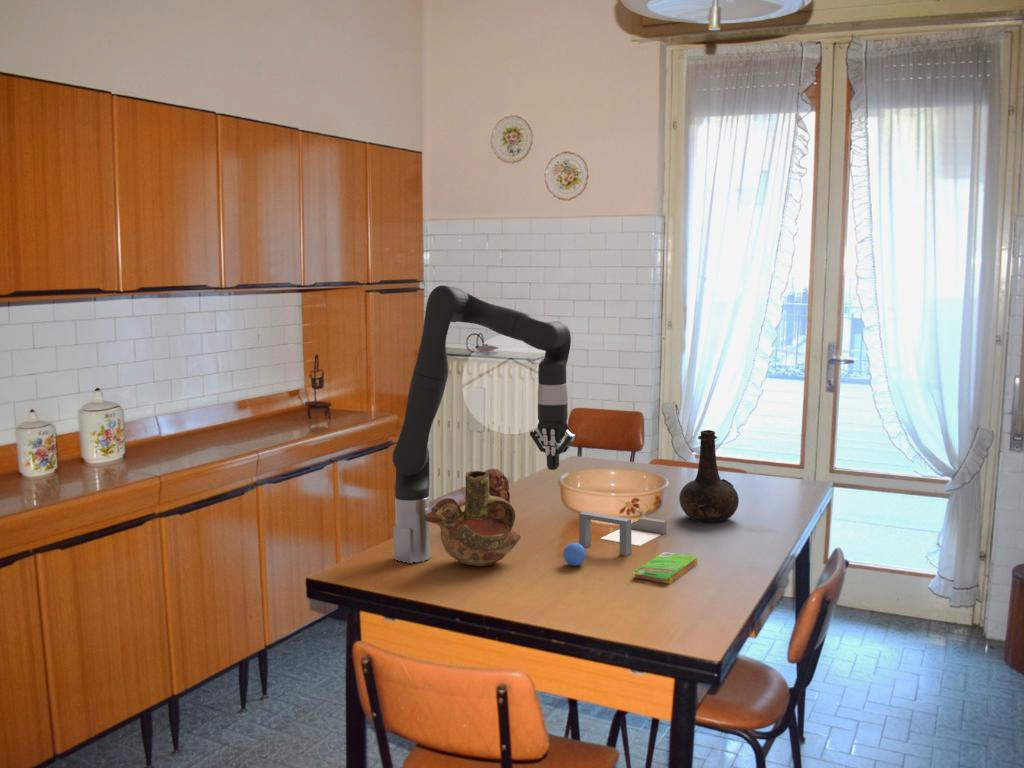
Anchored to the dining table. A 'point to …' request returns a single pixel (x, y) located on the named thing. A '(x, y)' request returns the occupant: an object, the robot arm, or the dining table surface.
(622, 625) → the dining table surface
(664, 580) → the game box
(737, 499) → the glass bottle
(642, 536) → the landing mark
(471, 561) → the ceramic vessel
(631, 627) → the dining table surface
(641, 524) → the wall
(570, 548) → the ball
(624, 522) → the bridge
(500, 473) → the wooden figurine
